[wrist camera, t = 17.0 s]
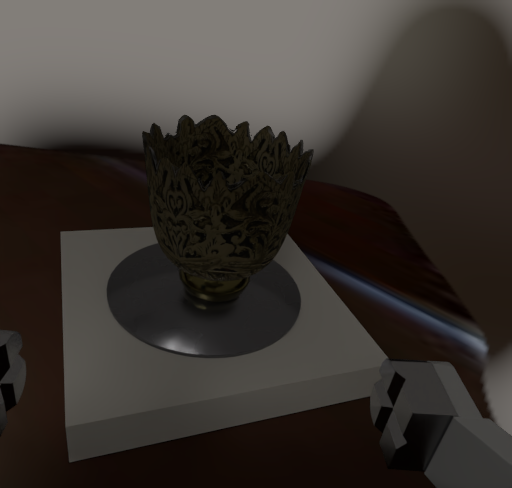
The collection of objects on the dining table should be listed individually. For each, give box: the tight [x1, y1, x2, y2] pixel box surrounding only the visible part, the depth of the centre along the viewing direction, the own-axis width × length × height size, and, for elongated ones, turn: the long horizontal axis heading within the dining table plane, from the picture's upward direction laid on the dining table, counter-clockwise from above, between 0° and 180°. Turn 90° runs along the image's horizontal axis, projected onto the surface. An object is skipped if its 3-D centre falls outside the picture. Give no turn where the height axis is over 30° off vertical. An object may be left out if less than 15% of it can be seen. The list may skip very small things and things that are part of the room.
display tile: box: [61, 227, 389, 462], centre depth 25 cm, size 14×14×2 cm
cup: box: [142, 115, 313, 302], centre depth 22 cm, size 8×7×8 cm
